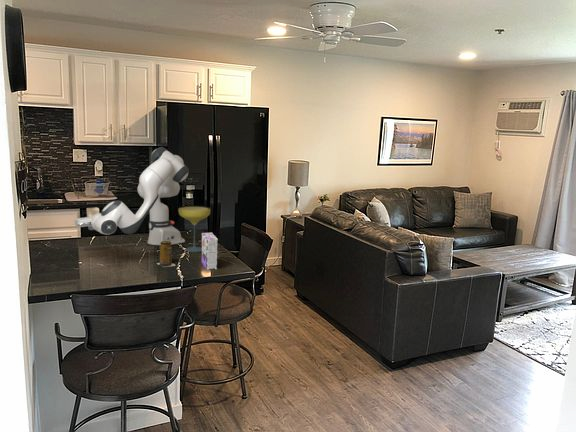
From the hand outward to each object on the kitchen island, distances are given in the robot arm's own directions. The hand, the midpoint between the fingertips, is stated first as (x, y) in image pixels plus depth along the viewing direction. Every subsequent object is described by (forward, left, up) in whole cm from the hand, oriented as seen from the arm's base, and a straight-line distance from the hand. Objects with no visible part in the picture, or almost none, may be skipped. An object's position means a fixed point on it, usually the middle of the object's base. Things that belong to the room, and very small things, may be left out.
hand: (93, 218), depth 239 cm
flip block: (0, 0, +5) cm, 5 cm away
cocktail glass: (-53, +10, -22) cm, 58 cm away
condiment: (-27, +30, -22) cm, 46 cm away
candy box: (-45, +43, -22) cm, 66 cm away
